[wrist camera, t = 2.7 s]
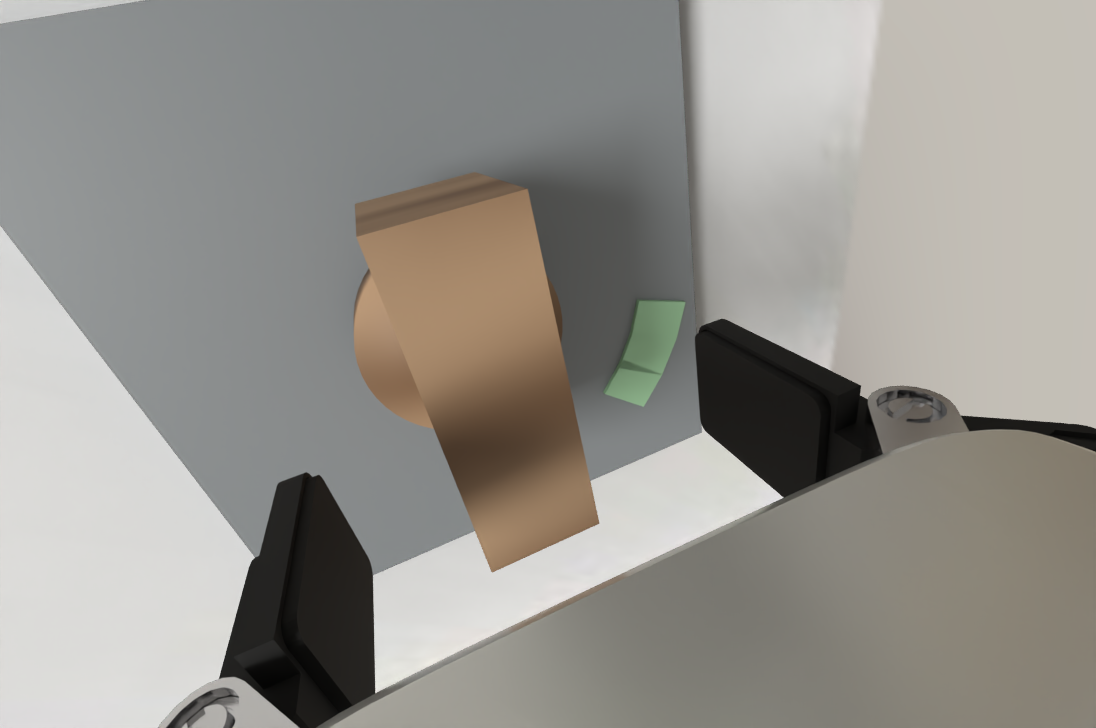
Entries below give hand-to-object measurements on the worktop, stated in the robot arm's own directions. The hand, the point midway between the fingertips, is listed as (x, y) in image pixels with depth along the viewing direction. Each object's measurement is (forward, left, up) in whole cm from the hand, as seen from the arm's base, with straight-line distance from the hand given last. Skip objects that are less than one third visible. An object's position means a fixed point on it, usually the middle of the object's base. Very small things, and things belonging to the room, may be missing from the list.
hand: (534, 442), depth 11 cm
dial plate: (0, 0, -10) cm, 10 cm away
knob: (+2, 0, -8) cm, 8 cm away
